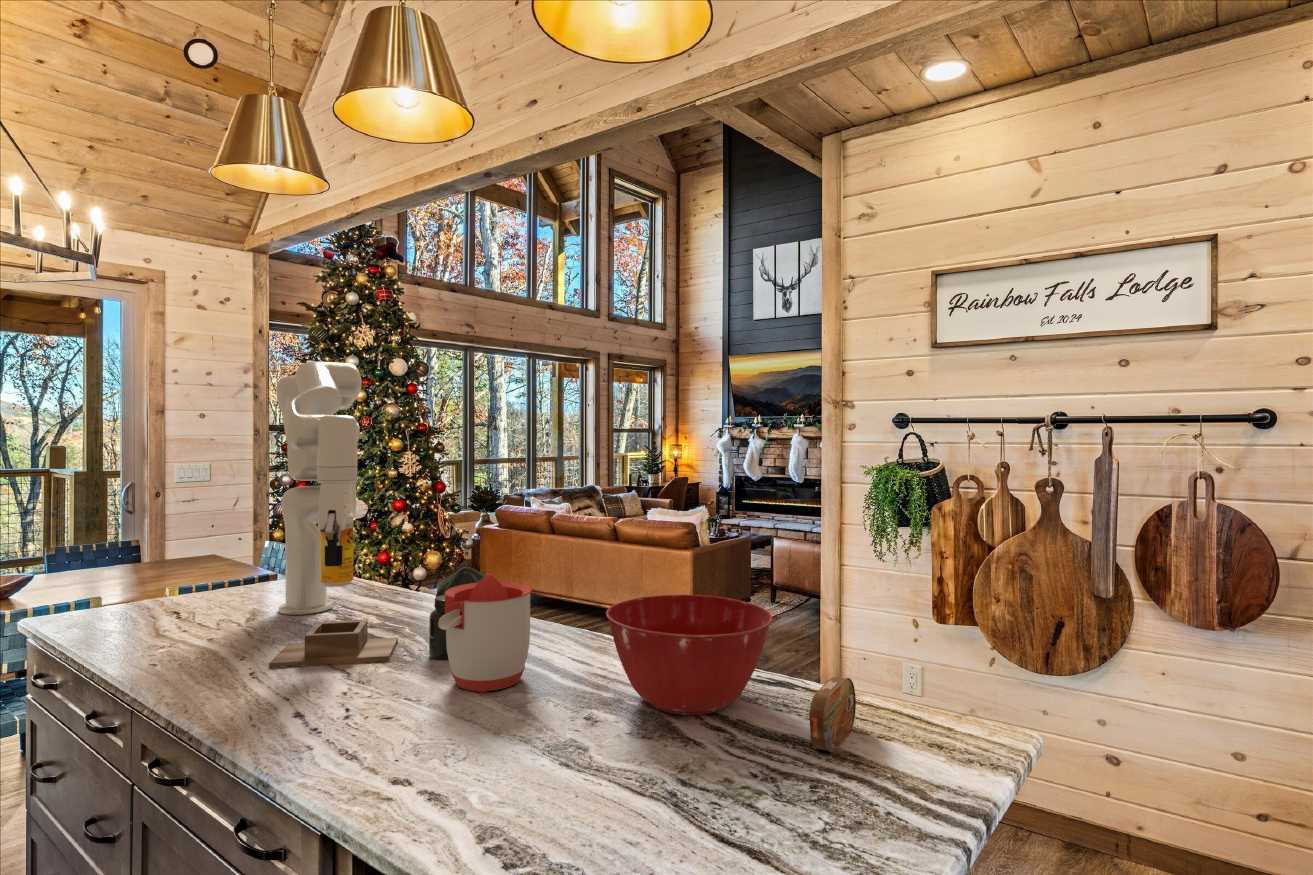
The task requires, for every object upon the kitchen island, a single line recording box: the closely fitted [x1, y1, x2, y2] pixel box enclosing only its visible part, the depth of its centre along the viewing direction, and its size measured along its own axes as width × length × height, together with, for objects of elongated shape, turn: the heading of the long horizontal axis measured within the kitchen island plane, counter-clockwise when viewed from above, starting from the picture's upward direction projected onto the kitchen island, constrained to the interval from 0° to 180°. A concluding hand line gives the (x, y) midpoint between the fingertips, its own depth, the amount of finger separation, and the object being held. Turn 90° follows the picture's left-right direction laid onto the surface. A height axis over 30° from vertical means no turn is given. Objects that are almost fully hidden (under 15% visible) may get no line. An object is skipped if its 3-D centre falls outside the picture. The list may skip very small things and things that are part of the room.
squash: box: [434, 566, 486, 610], centre depth 170 cm, size 14×15×15 cm
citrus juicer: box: [438, 573, 533, 693], centre depth 131 cm, size 16×17×20 cm
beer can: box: [321, 511, 354, 588], centre depth 147 cm, size 6×6×15 cm
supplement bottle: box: [428, 595, 449, 661], centre depth 147 cm, size 7×7×12 cm
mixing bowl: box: [605, 594, 773, 716], centre depth 123 cm, size 28×28×16 cm
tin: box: [808, 676, 857, 753], centre depth 108 cm, size 15×3×8 cm, turn 148°
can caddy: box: [268, 619, 399, 668], centre depth 147 cm, size 13×22×6 cm, turn 102°
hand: (337, 561), depth 147 cm, fingers closed on beer can, 6 cm apart
